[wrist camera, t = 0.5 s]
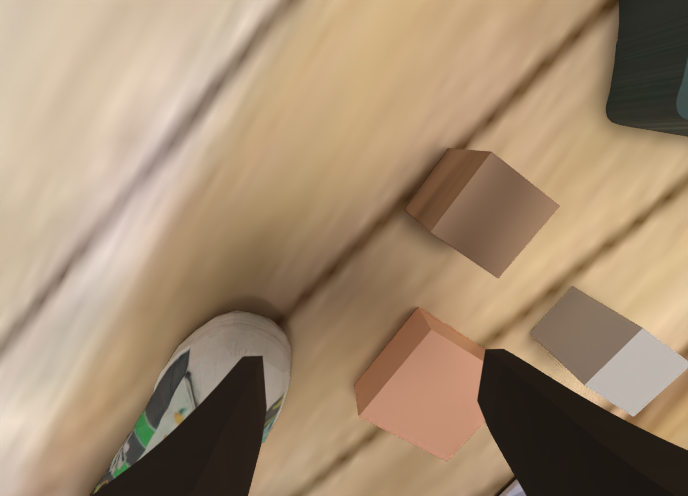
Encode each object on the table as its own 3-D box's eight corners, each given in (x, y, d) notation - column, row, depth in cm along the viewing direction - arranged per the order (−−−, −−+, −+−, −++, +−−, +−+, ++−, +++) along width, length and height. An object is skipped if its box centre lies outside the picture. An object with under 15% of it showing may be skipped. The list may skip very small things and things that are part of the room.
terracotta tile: (496, 354, 23) (520, 384, 20) (432, 424, 25) (446, 461, 22) (416, 304, 21) (431, 329, 19) (353, 382, 23) (358, 416, 20)
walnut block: (501, 189, 19) (560, 205, 14) (456, 245, 20) (498, 278, 15) (448, 148, 18) (491, 151, 14) (403, 209, 19) (430, 232, 14)
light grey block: (613, 315, 22) (691, 363, 18) (570, 359, 23) (633, 416, 18) (572, 286, 21) (643, 328, 17) (529, 332, 22) (584, 385, 18)
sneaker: (329, 337, 22) (332, 490, 12) (175, 535, 26) (94, 749, 17) (223, 277, 20) (133, 401, 11) (79, 500, 25) (-67, 717, 16)
